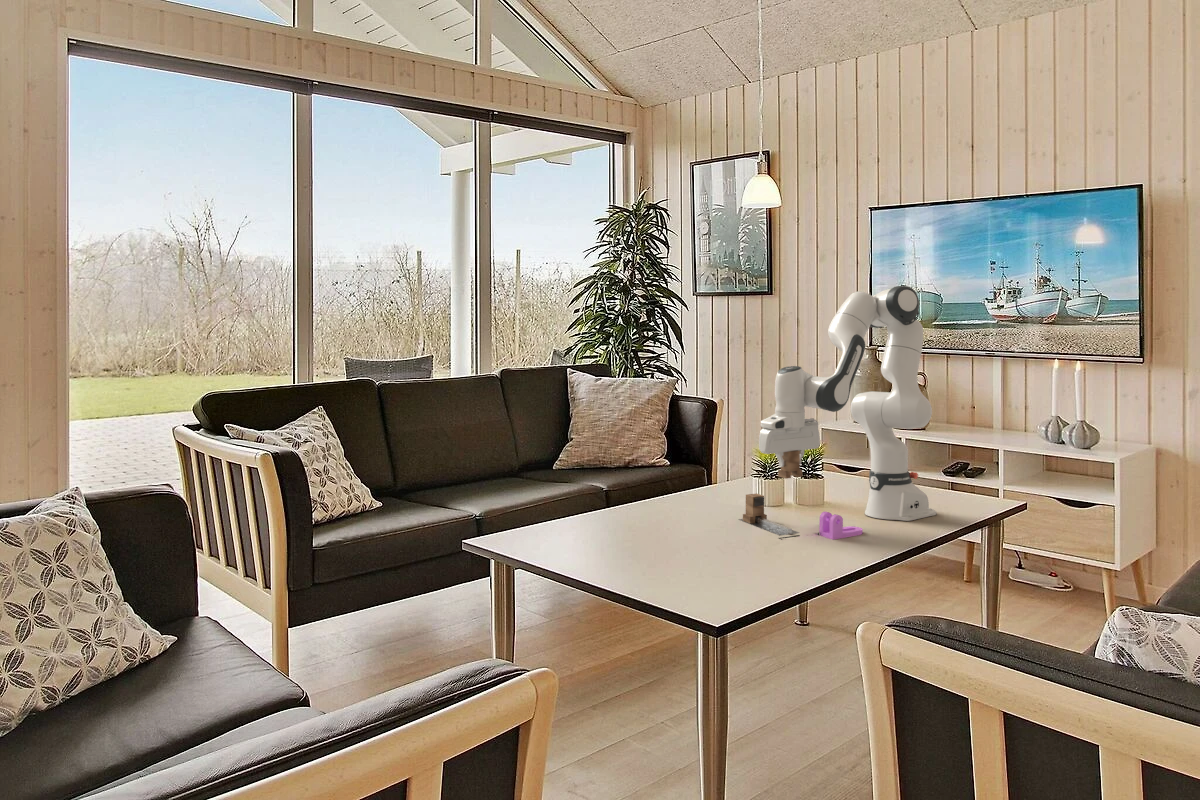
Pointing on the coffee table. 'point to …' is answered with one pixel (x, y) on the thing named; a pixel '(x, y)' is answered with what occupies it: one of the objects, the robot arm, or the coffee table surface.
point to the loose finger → (791, 465)
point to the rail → (772, 527)
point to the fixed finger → (754, 507)
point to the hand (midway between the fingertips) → (790, 465)
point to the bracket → (836, 527)
